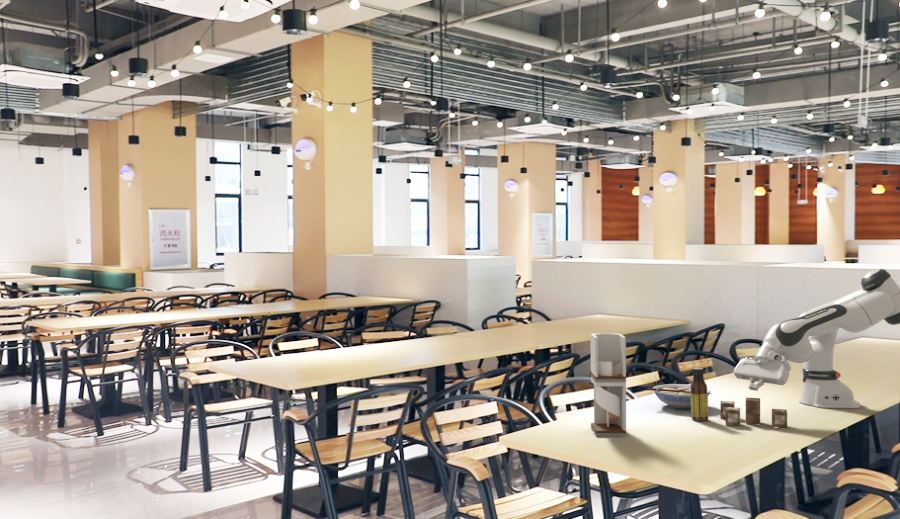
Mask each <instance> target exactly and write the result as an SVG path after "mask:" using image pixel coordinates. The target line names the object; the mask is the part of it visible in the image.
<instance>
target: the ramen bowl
mask: <svg viewBox="0 0 900 519" xmlns="http://www.w3.org/2000/svg"><path fill="white" fill-rule="evenodd" d="M690 385H691V384H684V383H683V384H682V383H681V384H680V383H678V384H677V383H668V384H666V383H665V384H660V385H655V386H653V387H647V388H646V391H653V392H654V394H655V395H656V397H657V398H658V399H659V401H661V402H662V403H664V404H666V405H668V406H671V408H675V409H678V408H679V410H685V409H686V410H687V409H691V387H690ZM707 393H708V397H709V396H710V395H712V393H711V389H710V388H708V387H707Z"/></svg>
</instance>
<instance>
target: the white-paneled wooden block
mask: <svg viewBox="0 0 900 519" xmlns="http://www.w3.org/2000/svg"><path fill="white" fill-rule="evenodd" d="M725 426H726V427H734V426H740V427H741V408H740V407H735V406H734V407H726V419H725Z"/></svg>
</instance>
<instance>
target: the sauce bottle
mask: <svg viewBox="0 0 900 519" xmlns="http://www.w3.org/2000/svg"><path fill="white" fill-rule="evenodd" d="M704 369H705V368H703V367H692V377H693V378H692V381H691V383H690V384H689V385H690V387H691V408H690V411H691V414H690V415H691V420H693V421H694V420H695V422H706V421H708V420H709V400H708V399H709V396H708V393H707V388H708V385H707V383H706V381H705V380H704V371H705V370H704Z"/></svg>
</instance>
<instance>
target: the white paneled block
mask: <svg viewBox="0 0 900 519" xmlns="http://www.w3.org/2000/svg"><path fill="white" fill-rule="evenodd" d="M726 407H734V408H735V401H732V400H720V420H726Z"/></svg>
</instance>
